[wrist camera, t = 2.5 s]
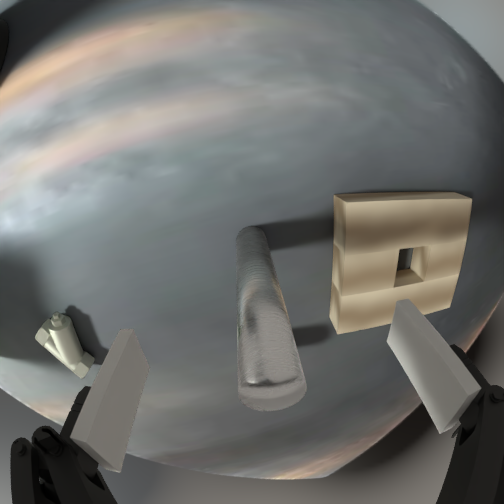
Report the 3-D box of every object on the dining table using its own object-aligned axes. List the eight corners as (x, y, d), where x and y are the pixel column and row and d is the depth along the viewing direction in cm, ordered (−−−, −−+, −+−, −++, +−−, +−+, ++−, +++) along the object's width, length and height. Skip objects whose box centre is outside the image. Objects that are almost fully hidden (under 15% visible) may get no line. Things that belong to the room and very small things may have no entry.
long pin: (234, 227, 23) (234, 375, 9) (265, 224, 23) (308, 367, 9) (238, 255, 24) (242, 413, 10) (267, 252, 24) (305, 406, 10)
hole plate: (333, 194, 23) (346, 202, 20) (454, 192, 23) (472, 199, 20) (329, 316, 28) (337, 334, 25) (436, 294, 28) (449, 307, 25)
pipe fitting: (59, 299, 26) (45, 326, 27) (43, 316, 22) (31, 343, 24) (108, 342, 28) (89, 364, 30) (96, 363, 25) (78, 383, 26)
